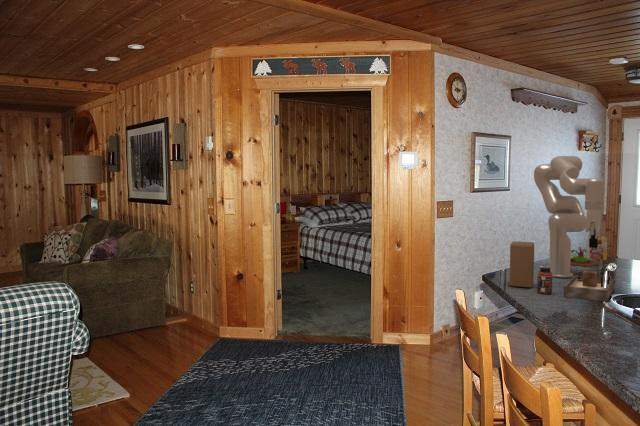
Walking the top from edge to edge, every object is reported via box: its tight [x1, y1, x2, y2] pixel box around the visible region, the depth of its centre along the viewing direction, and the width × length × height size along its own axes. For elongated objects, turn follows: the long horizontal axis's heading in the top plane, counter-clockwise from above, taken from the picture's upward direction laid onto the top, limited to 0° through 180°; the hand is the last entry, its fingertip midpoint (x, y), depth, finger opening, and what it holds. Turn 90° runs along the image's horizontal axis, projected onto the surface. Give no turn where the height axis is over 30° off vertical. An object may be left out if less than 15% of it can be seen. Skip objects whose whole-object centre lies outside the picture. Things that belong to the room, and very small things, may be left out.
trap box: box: [563, 274, 615, 303], centre depth 216 cm, size 16×28×4 cm, turn 145°
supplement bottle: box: [536, 266, 553, 295], centre depth 216 cm, size 6×6×11 cm
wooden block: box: [509, 240, 535, 289], centre depth 232 cm, size 10×10×20 cm
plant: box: [570, 246, 602, 268], centre depth 282 cm, size 20×20×11 cm
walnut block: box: [582, 269, 598, 287], centre depth 217 cm, size 5×5×6 cm
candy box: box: [588, 235, 608, 261], centre depth 294 cm, size 9×4×15 cm, turn 29°
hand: (593, 247), depth 222 cm, fingers closed
